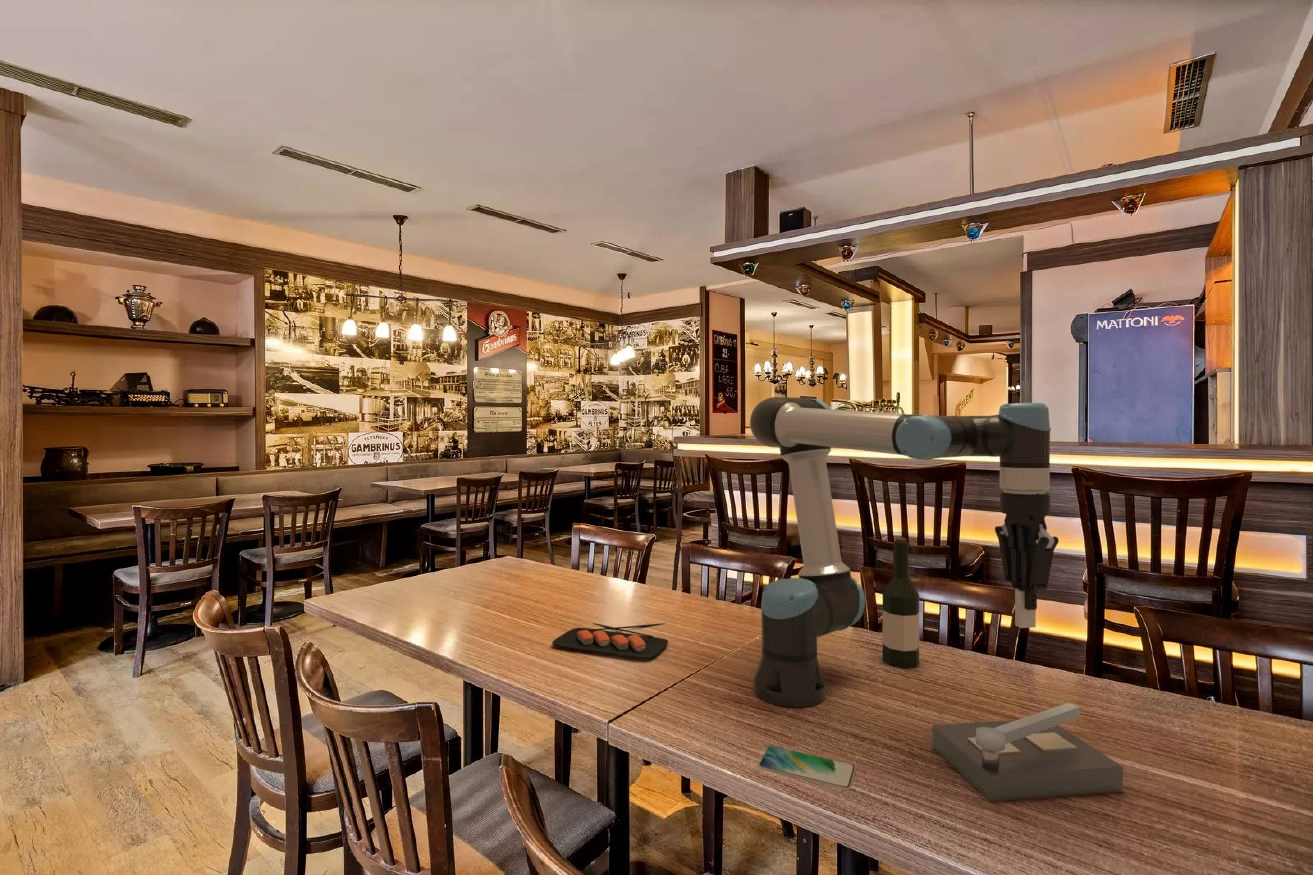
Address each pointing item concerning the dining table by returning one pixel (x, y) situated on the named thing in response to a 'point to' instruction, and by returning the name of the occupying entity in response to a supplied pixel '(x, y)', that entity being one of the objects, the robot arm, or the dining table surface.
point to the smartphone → (808, 767)
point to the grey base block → (1028, 763)
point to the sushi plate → (613, 641)
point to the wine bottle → (900, 613)
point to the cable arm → (1025, 727)
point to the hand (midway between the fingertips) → (1025, 626)
